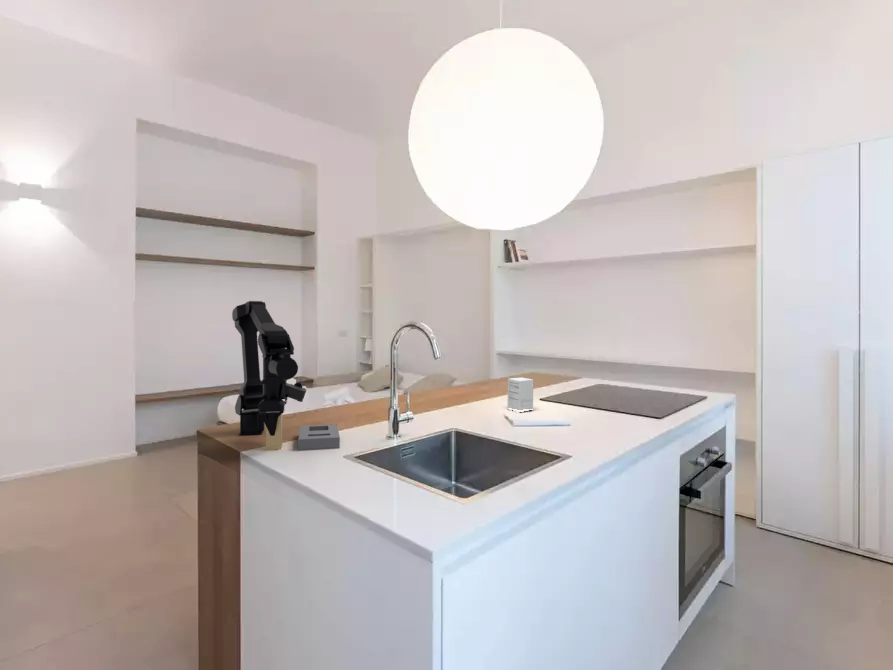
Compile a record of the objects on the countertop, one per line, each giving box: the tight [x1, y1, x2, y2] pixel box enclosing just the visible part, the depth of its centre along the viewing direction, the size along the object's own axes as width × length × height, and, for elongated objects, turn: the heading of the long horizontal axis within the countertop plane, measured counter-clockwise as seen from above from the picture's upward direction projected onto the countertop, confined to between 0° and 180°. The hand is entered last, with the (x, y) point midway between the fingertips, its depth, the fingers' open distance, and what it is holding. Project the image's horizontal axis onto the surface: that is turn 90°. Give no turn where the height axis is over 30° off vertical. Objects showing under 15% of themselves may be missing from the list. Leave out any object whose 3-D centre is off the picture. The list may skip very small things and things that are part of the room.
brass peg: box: [265, 413, 283, 451], centre depth 134 cm, size 4×4×10 cm
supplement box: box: [507, 376, 534, 410], centre depth 191 cm, size 7×7×13 cm
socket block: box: [297, 424, 341, 451], centre depth 141 cm, size 11×16×3 cm
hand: (274, 431), depth 134 cm, fingers open, 9 cm apart
